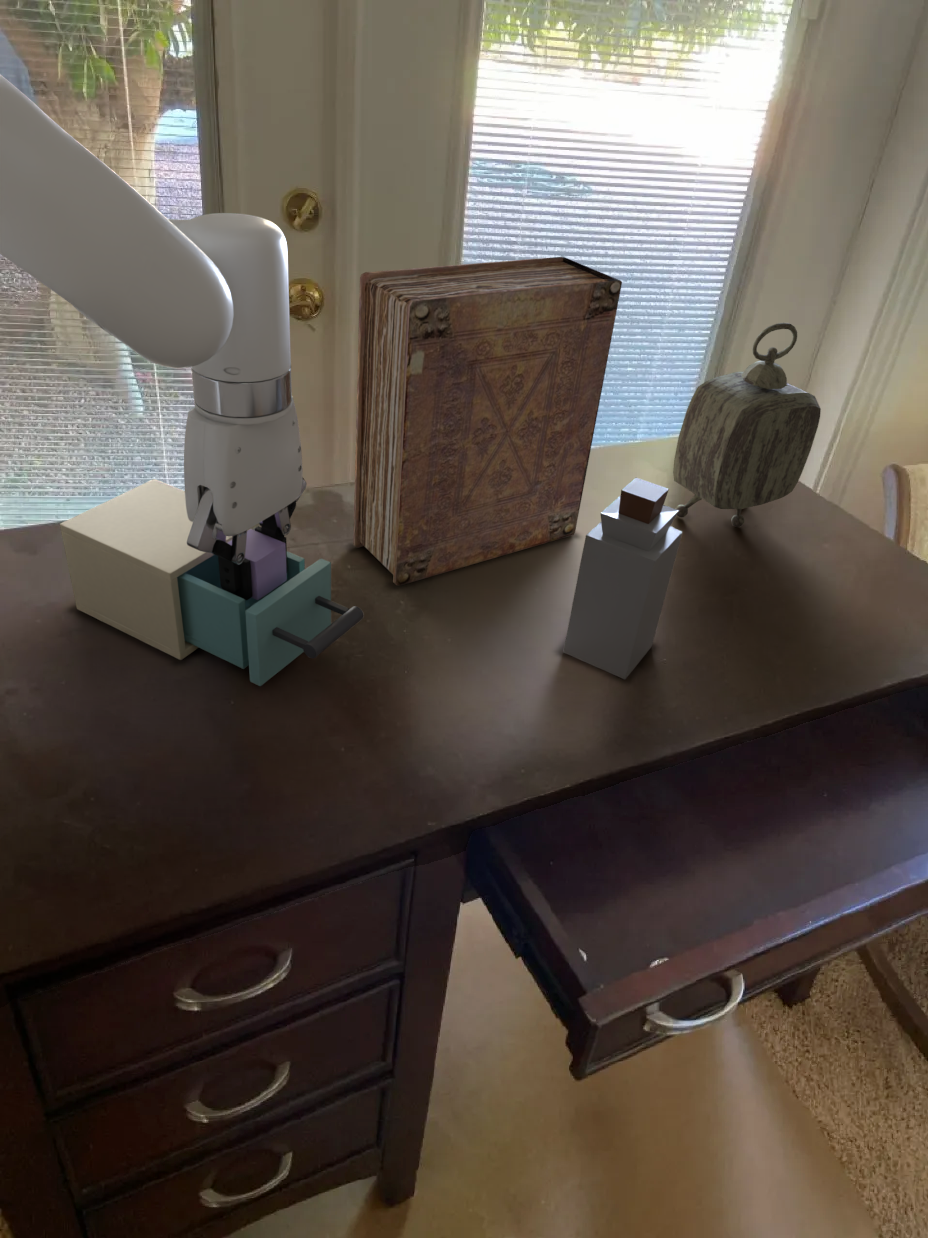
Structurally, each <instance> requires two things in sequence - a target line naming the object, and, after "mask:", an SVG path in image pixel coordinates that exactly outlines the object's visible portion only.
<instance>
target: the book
mask: <svg viewBox="0 0 928 1238" xmlns="http://www.w3.org/2000/svg"><path fill="white" fill-rule="evenodd" d="M622 286H623V281H621V279H618V278H616V277H613V276H611V275H609V274H606V273H603V272H602V271H600V270H597V269H594V268H592V267H590V266H588V265H585V264H582V263H580V262H578V261H575V260H573V259H571V258H568V257H565V256H552V257H541V258H540V257H539V258H528V259H515V260H513V259H512V260H502V261H490V262H489V261H488V262H476V263H475V262H474V263H463V264H452V265H450V264H449V265H439V266H427V267H425V266H424V267H414V268H413V267H411V268H402V269H387V270H378V271H377V270H375V271H365V272H363V273H361V274H360V276H359V299H358V304H359V305H358V332H357V333H358V336H357V337H358V338H357V339H358V340H357V376H356V377H357V379H356V412H355V413H356V415H355V418H356V419H355V424H356V425H355V452H354V453H355V456H354V463H355V464H354V489H353V490H354V494H353V496H354V497H353V527H352V528H353V532H352V534H353V535H352V545H353V546H354V547H355V548H356V549H358V548H362V547H364V548H365V549H366V550H368V551H369V553H370V554H371V555H373V556H374V557H375V558H376V559H377V560H378V561H379V563H381V564H382V566H383V567H384V568H386V569H387V570H388V571H389V572H390V573H391V574H392V576H393V580H392V582H393V583H394V585H396V586H403V585H406V584H410V583H413V582H417V581H420V580H424V579H428V578H431V577H434V576H437V575H441V574H445V573H448V572H451V571H454V570H458V569H462V568H464V567H465V568H466V567H469V566H472V565H474V564H478V563H482V562H485V561H489V560H493V559H495V558H496V559H497V558H499V557H502V556H506V555H509V554H513V553H516V552H520V551H523V550H526V549H531V548H534V547H538V546H540V545H544V544H547V543H550V542H555V541H557V540H561V539H564V538H568V537H572V536H574V535H575V534H576V529H577V524H578V519H579V514H580V508H581V503H582V498H583V492H584V487H585V481H586V476H587V471H588V465H589V460H590V455H591V449H592V445H593V439H594V435H595V429H596V424H597V418H598V413H599V407H600V402H601V397H602V391H603V387H604V381H605V377H606V376H605V375H606V370H607V365H608V360H609V355H610V349H611V345H612V344H611V343H612V338H613V332H614V327H615V322H616V318H617V312H618V306H619V302H620V301H619V300H620V295H621V291H622Z"/></svg>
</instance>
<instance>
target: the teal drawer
mask: <svg viewBox="0 0 928 1238" xmlns="http://www.w3.org/2000/svg"><path fill="white" fill-rule="evenodd" d="M305 561H306V559H305V558H304V557H302V556H300V555H297V554H295V553H292V552H290V551H287V580H286V581H285V582H284V583H282V584H281V585H279V586H278V587H276V588H275V589H274V590H272V591H271V592H269V593H268V594H266V595H265V596H263V597H262V598H261V599H259V600H256V599H254V598H252V597H251V598H250V599H248V600H244V599H243V598H241V597H238V596H236V595H234V594H232V593H230V592H227V591H225V590H223V589H222V588H221V585H220V573H219V562H218V556H216V555H213V556H211V557H210V558H208V559H207V560H205V561H203V562H202V563H200V564H198V565H197V566H195V567H193V568H192V569H190V570H188V571H187V572H185V573H183V574H182V575H180V576H178V577H177V581H178V589H179V597H180V606H181V614H182V622H183V631H184V639H185V641H186V642H188V643H191V644H193V645H195V646H197V647H199V648H198V649H201V650H203V651H205V652H207V653H210V654H211V655H214V656H215V657H217V658H220V659H221V660H224V661H226V662H228V663H229V664H232V665H234V666H236V667H238V668H241V669H243V670H245V669H246V668H248V672H249V673H248V674H249V682H250V683H252V684H255V685H256V686H258V687H262V686H263V685H264V684H265V683H267V682H268V681H269V680H271V678H273V677H274V676H275V675H276V674H277V673H280V671H282V670H283V669H285V667H286V666H288V665H289V664H291V663H292V662H293V661H294V660H295V659H296V658H298V657H300V655H302V654H303V653H304V654H305V656H307V657H308V658H309V659H315V658H317V657H318V656H319V655H321V654H322V653H323V652H324V651H325V650H326V649H328V648H329V647H330V646H331V645H333V644H334V643H335V642H336V641H338V640H339V639H340V638H341V637H342V636H344V635H345V634H346V633H348V631H349V630H350V629H352V628H353V627H355V626H356V625H357V624H358V623H359V622H361V621H362V620H363V619H364V611H363V610H362V609H361V608H360V607H359V606H356V605H355V606H352V607H350V608H349V607H347V606H344V605H342V604H340V603H337V602H335V601H332V562H331V561H329V560H326V559H324V558H319V559H317V560H316V561H315V562H314V563H312V564H311V565H309V566H308V567H306V566H305V565H306V563H305ZM332 612H333V613H336V614H339V615H340V616H339V617H338V618H336V620H334V621H333V622H332Z"/></svg>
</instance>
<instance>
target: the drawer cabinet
mask: <svg viewBox="0 0 928 1238" xmlns="http://www.w3.org/2000/svg"><path fill="white" fill-rule="evenodd" d="M192 524H193V522H191V521H190V520H189V519H188V516H187V510H186V501H185V490H184V489H181V488H178V487H176V486H173V485H171V484H168V483H165V482H163V481H161V480H158V479H156V478H153V479H151V480H148V481H146V482H144V483H142V484H140V485H138V486H135V487H134V488H131V489H129V490H127V491H125V492H123V493H121V494H119V495H116V496H115V497H113V498H111V499H109V500H106V501H104V502H102V503H100V504H98V505H96V506H94V507H92V508H89V509H87V510H86V511H83V512H82V513H80V514H77V515H75V516H73V517H71V518H68V519H67V520H65V521H63V522H60V523H59V530H60V534H61V539H62V544H63V548H64V553H65V558H66V563H67V567H68V572H69V579H70V583H71V587H72V592H73V597H74V598H73V599H74V602H75V606H76V610H78V611H80V612H81V613H84V614H86V615H88V616H90V617H93V618H94V619H97V620H98V621H100V622H102V623H104V624H106V625H108V626H111V627H113V628H115V629H116V630H119V631H120V632H123V633H125V634H127V635H129V636H131V637H133V638H135V639H137V640H138V641H141V642H142V643H145V644H147V645H149V646H151V647H153V648H154V649H157V650H159V651H161V652H163V653H165V654H167V655H169V656H171V657H173V658H175V659H177V660H179V661H182V660H183V659H186V657H188V656H190V655H191V654H192V653H193V652H195V651H196V650H198V649H200V648H199V647H197V646H195V645H193V644H191V643H188V642H186V641H185V639H184V631H183V622H182V614H181V606H180V597H179V589H178V581H177V577H178V576H180V575H182V574H183V573H185V572H187V571H188V570H190V569H192V568H193V567H195V566H197V565H198V564H200V563H202V562H203V561H205V560H207V559H208V558H210V557H211V556H213V555H214V554H212V553H208V552H203V551H199V550H197V549H194V548H192V547H190V546H188V545H187V539H188V536H189V533H190V530H191V527H192ZM258 526H259V527H260V525H259V523H258V524H256V525H255V526H253V527H251V528H249V529H248V530H250V529H252V530H254V531H255V528H256V527H258ZM248 530H247V531H248ZM231 540H232V536H226V543H228V542H230V541H231Z"/></svg>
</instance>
